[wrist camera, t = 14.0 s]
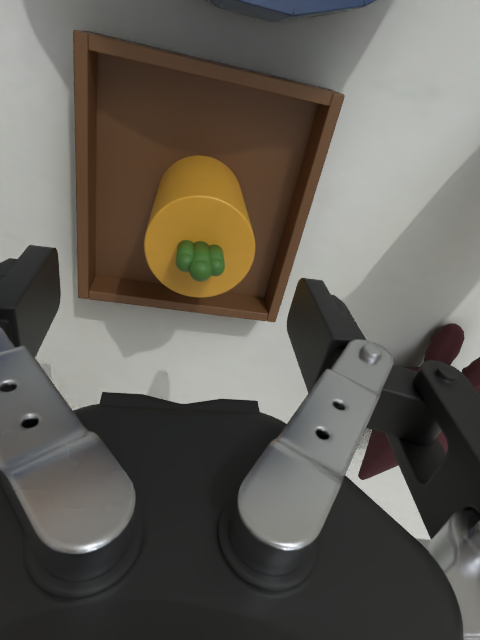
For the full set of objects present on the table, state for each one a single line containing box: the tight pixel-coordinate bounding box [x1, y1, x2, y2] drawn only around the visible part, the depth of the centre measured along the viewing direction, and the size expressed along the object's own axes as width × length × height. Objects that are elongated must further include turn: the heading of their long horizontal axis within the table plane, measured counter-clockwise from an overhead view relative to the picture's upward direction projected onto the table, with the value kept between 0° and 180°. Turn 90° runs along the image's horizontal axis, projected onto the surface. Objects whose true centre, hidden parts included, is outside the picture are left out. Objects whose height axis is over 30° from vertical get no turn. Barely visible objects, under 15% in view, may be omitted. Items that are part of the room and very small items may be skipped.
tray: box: [73, 30, 344, 322], centre depth 22 cm, size 12×13×2 cm
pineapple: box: [144, 155, 255, 297], centre depth 19 cm, size 5×5×9 cm
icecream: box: [358, 324, 480, 480], centre depth 31 cm, size 7×7×15 cm
